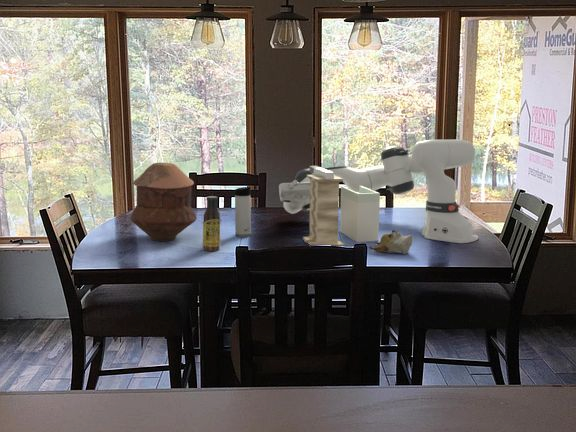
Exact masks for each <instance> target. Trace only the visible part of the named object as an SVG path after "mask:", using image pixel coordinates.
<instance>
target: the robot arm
mask: <svg viewBox="0 0 576 432" xmlns="http://www.w3.org/2000/svg"><path fill="white" fill-rule="evenodd" d="M409 152H410V151H409V150H407V149H405V148H404V147H402V146H399V145H390V146H388V147H386V148H385V149H384V150H382V151H381V154H380V157H381V161H382V165H374V166H368V167H364V168H359V169H357V168H352V167H351V166H350V165H339V166H338V165H337V166H335V165H334V166H328V167H323V168H324V169H326V170H329V171H331V172H334V175H335V176H337V177H340V178H342V179H343V181H342V183H343V184H344V185H345V186H346V188H348V189H350V190H353V191H355V192H359V186H363V187H366V188H368V189H371V190H373V191H377V190H379V189H382V188H383V187H386V186H388V187H389V188H386V190H387V191H390V193H392V194H394V195H398V196H403V195H407V194H408V193H409V194H410V192H411V191H413V190H414V187H415V182H414V180H413V175H412V174H414V175H418V176H419V175H420V176H421V175H422V176H423V175H424V176H425V178H426V183H427V200H425V201H426V202H425V218H424V219H425V220H424V226H423V230H422V231H421V235H422V236H423V237H424V238H425V239H426V240H434V241H440V242H441V241H442V242H447V243H456V244H466V243H472V242H475V241H477V240H479V236H478V235H476V234H473V233H474V230H473V226H472V222H470V221H469V220H468V219H467V218H466V216H464V215H463V214H462V213H461V212H460V210H459V208H461V206H462V204H458V203H457V201H456V195H457V194H456V192H457V183H456V182H455V180H454V179H453V178H451V176H448V175H446V174H445V170H449V169H455V168H460V167H465V166H468V165H469V166H470V165H471V164H472V163H473V162H474V160H475V158H476V147H475V146H474V144H473V143H472V142H471V141H469V140H464V139H455V138H454V139H426V140H425V139H424V140H421V141H417V142H416V143H415V144H414V145H413V147H412V150H411V154H409ZM307 175H315V174H313V173H311V172H309V168H303V169H301V170H298V171H297V173H296V174H295V177H294V180H293V181H291V182H282V183H280V184H279V185H278V192H279V193H278V194H279V200H280V202H282V203H283V208H284V210H285V211H286V212H287V213H288V214H297V213H298V212H300V211H305V212H310V179H309V178H307Z"/></svg>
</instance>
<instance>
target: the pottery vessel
mask: <svg viewBox="0 0 576 432" xmlns="http://www.w3.org/2000/svg"><path fill="white" fill-rule="evenodd" d="M132 184H133V186H135V187H136V205H135V207H134V209H133V210H132V212H131V215H130V221H131V222H132V223H133V224H134V225H135V226H137V227H138V228H139V229H140V230H141V231H143V232H144V233H145V234H146V235H147V236H148V237H150V239H151V240H153V241H157V242H166V241H168V242H169V241H173V240H175V239H176V238H177V236H178V235H179V234H180V233H182V232H183V231H184V230H185V229H187V228H188V227H189V226H190V225H192V224H193V223H195V222H196V221H197V215H196V212H195V210H194V209H193V208H192V206H191V200H192V199H191V198H192V186H193V185H194V184H195V182H194V180H193V179H191V178H190V177H189V176H188V175H187V174H186V173H185V172H184V171H183V170H181V169H180V168H179V167H178V166H177V165H176V164H174V163H173V162H172V163H170V162H153V163H152V164H150V165H149V166H148V167H147V168H146V169H145V170H144V172H143V173H141V175H140V176H139V177H137V178H135V179H134V180H133V181H132Z"/></svg>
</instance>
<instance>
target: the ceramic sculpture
mask: <svg viewBox="0 0 576 432" xmlns="http://www.w3.org/2000/svg"><path fill="white" fill-rule="evenodd" d="M413 237H414V235H413V234H410V235H409V234H408V235H405V236H404V235H402V234H401V233H400V232H398V231H397V230H392V231H391V232H385V234H382V236H381V237H380V239H379V240H380V241H374V243H375V244H376V245H374V246H369V247H368V249H370V250H372V251H373V252H374V251H375V252H377V253H384V252H385V253H388V254H394V253H401V254H403V255H406V254H407V255H408V253H409V251H410V249H411V246H412V245H413Z"/></svg>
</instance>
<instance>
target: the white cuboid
mask: <svg viewBox="0 0 576 432" xmlns="http://www.w3.org/2000/svg"><path fill="white" fill-rule="evenodd" d="M380 198H381V192H378V191H377V190H374V191H373V190H371V189H368V188H366V187H363V186H359V192H355V191H353V190H350V189H349V188H348V187H347V186H346V187H345V186H343V185H342V186H340V212H339V213H340V216H339V217H340V219H339V222H340V223H339V227H340V229H339V231H340V232H341V233H342V234H343V235H345V236H347V237H348V238H350V239H351V240H353V241H354V242H356V243H365V242H379V240H380V239H379V230H380V202H381V199H380Z"/></svg>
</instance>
